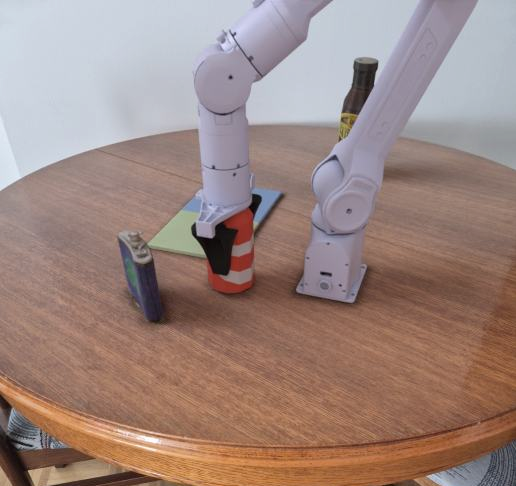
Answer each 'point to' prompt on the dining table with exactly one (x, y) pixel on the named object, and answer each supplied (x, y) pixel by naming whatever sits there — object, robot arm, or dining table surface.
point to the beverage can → (238, 256)
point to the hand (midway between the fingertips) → (230, 259)
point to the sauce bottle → (357, 93)
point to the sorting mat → (179, 228)
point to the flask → (141, 274)
